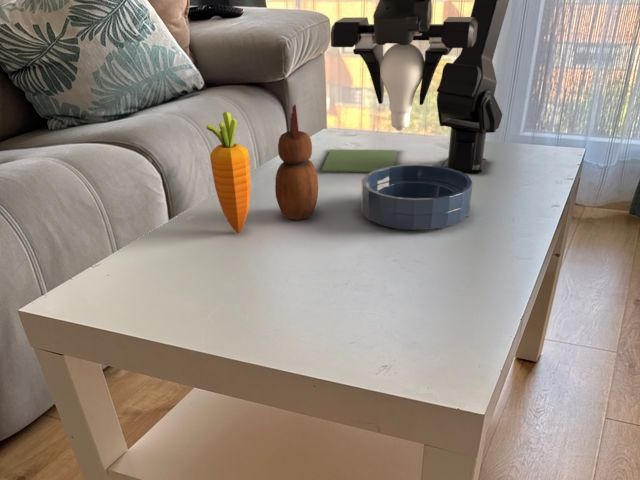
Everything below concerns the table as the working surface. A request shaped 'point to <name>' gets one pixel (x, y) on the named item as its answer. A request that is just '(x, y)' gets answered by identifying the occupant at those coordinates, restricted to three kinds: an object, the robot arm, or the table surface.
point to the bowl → (416, 196)
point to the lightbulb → (401, 80)
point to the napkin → (358, 160)
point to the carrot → (231, 173)
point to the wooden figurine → (296, 173)
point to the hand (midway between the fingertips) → (400, 103)
